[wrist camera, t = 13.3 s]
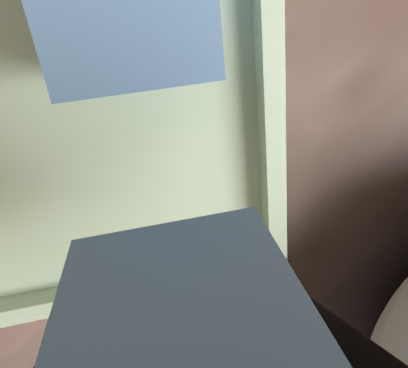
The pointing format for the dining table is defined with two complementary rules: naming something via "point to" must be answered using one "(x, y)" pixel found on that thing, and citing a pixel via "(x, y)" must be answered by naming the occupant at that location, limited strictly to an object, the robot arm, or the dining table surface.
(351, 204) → the dining table surface
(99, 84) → the block
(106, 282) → the block
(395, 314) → the serving bowl
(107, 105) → the tray
